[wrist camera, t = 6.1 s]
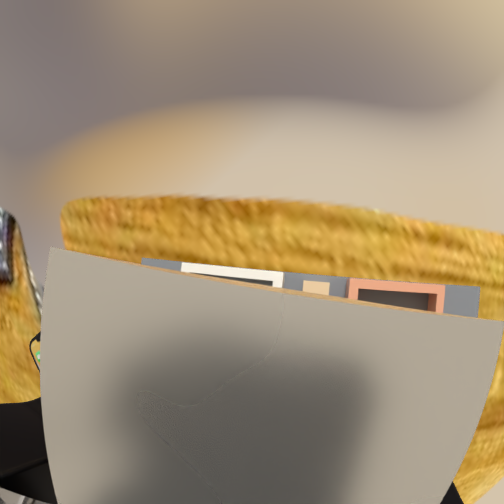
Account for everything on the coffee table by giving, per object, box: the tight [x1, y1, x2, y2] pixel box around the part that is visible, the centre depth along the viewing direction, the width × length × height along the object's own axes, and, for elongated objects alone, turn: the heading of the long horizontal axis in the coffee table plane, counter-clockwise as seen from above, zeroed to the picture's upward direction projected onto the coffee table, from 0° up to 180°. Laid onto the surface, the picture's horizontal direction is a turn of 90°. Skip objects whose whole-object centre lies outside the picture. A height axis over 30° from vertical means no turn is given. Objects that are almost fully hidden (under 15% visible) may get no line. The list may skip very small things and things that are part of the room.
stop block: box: [40, 247, 504, 504], centre depth 8 cm, size 4×4×13 cm
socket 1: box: [181, 262, 285, 288], centre depth 20 cm, size 7×7×2 cm
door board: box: [141, 258, 480, 318], centre depth 19 cm, size 21×26×4 cm
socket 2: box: [345, 278, 445, 313], centre depth 18 cm, size 7×7×2 cm
